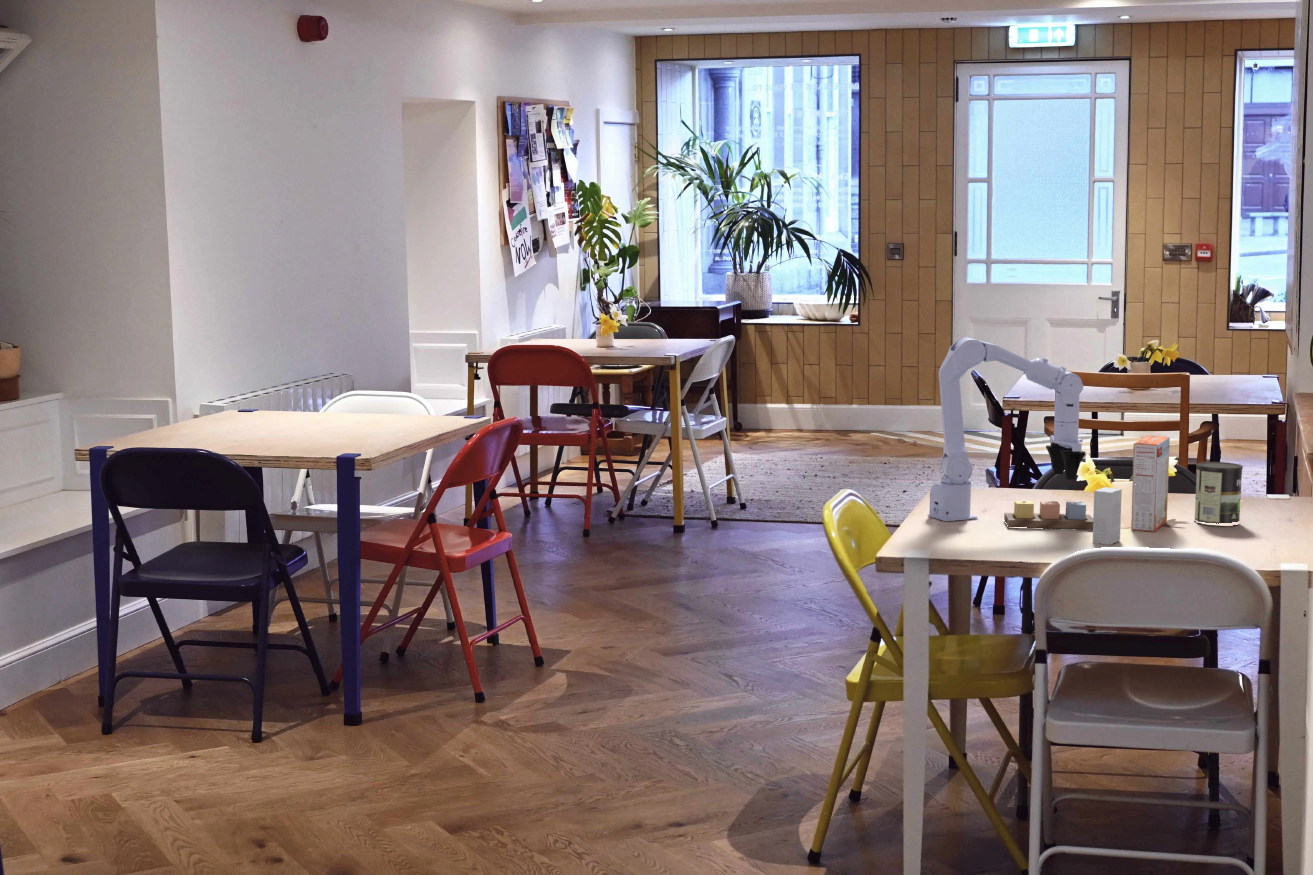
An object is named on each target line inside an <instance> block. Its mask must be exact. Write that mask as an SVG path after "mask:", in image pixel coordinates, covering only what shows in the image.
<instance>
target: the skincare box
mask: <svg viewBox="0 0 1313 875" xmlns="http://www.w3.org/2000/svg"><path fill="white" fill-rule="evenodd" d="M1121 513H1122V488H1115V487H1106V486H1105V487H1104V486H1103V487H1102V488H1098V489H1096V490H1094V491H1093V517H1092V518H1093V530H1092V543H1093V542H1094V543H1093V544H1098V543H1101V544H1100V545H1106V546H1110V545H1113V544H1115V543H1118V542H1119V541H1120V540H1121V525H1122V524H1121V520H1122V519H1121V518H1122V516H1121V515H1122V514H1121Z"/></svg>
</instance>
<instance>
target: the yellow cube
mask: <svg viewBox="0 0 1313 875" xmlns="http://www.w3.org/2000/svg"><path fill="white" fill-rule="evenodd" d="M1013 504H1014V506H1013V513H1014V516H1015V517H1016V518H1033V515H1034V513H1035V512H1034V511H1035V510H1034V508H1035V507H1034V506H1035V504H1034V502H1033V500H1014V503H1013Z"/></svg>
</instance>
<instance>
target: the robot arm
mask: <svg viewBox="0 0 1313 875" xmlns="http://www.w3.org/2000/svg"><path fill="white" fill-rule="evenodd" d="M994 361H995V362H996V361H997V362H999V363H1001V364H1004V365H1006V366H1008V367H1011V368H1014V369H1017V371H1022V372H1023V373H1024V375H1025V378H1026V379H1027V381H1030V382H1033V383H1035V384H1037V385H1039V386H1042V387H1044V388H1046V389H1049V390H1054V391H1055V401H1054V419H1053V420H1054V421H1053V435H1051V434H1050V439H1049V442H1050V445H1049V444H1048V445H1045V448H1046V451H1047V453H1048V455H1049V458H1050V463H1051V466H1052V472H1053V474H1054V475H1063V474H1064V476H1065V480H1068V481H1069V480H1076V478H1077V474H1078V471H1079V469H1080V465H1081V463H1082V461H1083V458H1084V457H1085V456H1086V451H1084V450H1082V446H1083V444H1082V443H1084V442H1083V439H1082V438H1079V428H1080V427H1079V424H1080V422H1079V421H1080V394H1081V393H1082V392H1083V390H1084V384H1083V380H1082V379H1081V377H1080V376H1079V375H1078V374H1076V373H1073V372H1070V371H1069V370H1067V368H1066V367H1064V366H1061V367H1060V366H1057V365H1055V364H1053V363H1050V362H1049V359H1047V358H1045V357H1041V358H1039V357H1036V358H1034V359H1031V360H1029V359H1028V358H1025V357H1022V356H1020V355H1019V354H1016V353H1015V352H1012V351H1009V350H1008V349H1005V348H1004V347H1001V346H999V345H997V344H995V343H991V342H986V341H985V340H984V341H983V340H980V339H975V338H972V337H970V336H964V337H960V338H958V340H955V342H954V343H953V344H952V345H951V346H949V349H948V352H947V354H946V356H945V358H944V359H943V361H942V363H941V366H940V368H939V370H938V382H939V393H940V394H939V395H940V405H941V408H940V409H941V417H942V430H943V440H944V441H943V442H944V444H943V449H942V450H943V456H942V458H941V462H940V469H941V471H942V473H943V476H942V477H941V478H940V481H939V482H938V483H934V484H932V486H931V487H930V490H929V491H930V492H929V513H928V514H927V516H928V517H931V518H934V519H937V520H940V521H943V522H952V521H954V522H955V521H964V520H974V519H975V520H976V519H978V516H977V515H974V514H971V501H972V500H971V497H972V494H971V492H972V489H971V487H972V479H970V478H971V477H972V474H973V465H972V463H971V461H970V460H969V458H968V452H967V447H966V442H965V432H964V431H965V430H964V420H963V419H964V418H963V409H962V408H963V407H962V396H961V385H960V383H961V381H960V379H961V378H962V377H963V376H964V375H965V374H966V373H967V372H968V370H970V369H972V368H974V367H975V366H978V365H979V364H981V363H982V362H985V363H988V362H989V363H990V362H994Z"/></svg>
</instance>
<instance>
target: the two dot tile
mask: <svg viewBox="0 0 1313 875" xmlns="http://www.w3.org/2000/svg"><path fill="white" fill-rule="evenodd" d="M1060 508H1061V504H1060V503H1059V501H1056V500H1050V501H1049V500H1040V502H1039V513H1040V516H1041V518H1042V519H1059V517H1060V514H1061V512H1060V510H1061V509H1060Z"/></svg>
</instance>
